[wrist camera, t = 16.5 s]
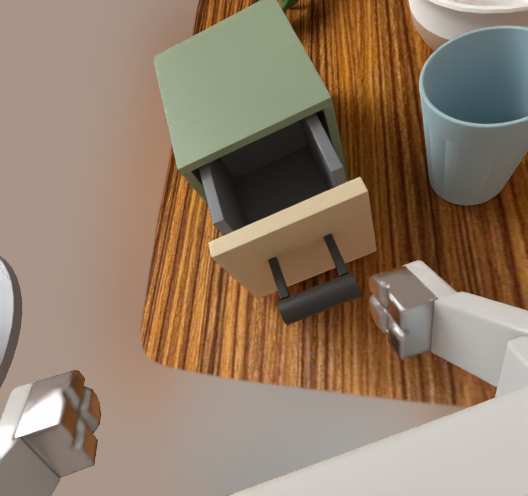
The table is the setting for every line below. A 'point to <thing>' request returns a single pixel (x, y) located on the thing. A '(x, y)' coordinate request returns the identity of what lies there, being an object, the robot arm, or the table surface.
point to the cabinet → (239, 88)
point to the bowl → (463, 17)
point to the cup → (476, 112)
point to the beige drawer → (289, 218)
